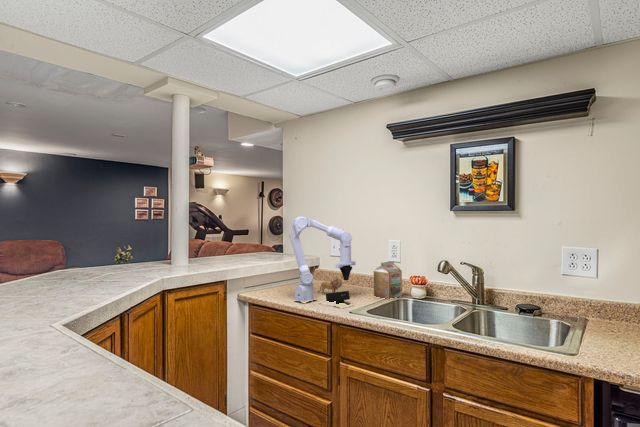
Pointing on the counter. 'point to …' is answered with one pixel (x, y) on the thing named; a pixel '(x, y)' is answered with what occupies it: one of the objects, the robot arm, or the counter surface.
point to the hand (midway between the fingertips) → (346, 280)
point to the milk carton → (388, 280)
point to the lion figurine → (331, 285)
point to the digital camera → (338, 297)
